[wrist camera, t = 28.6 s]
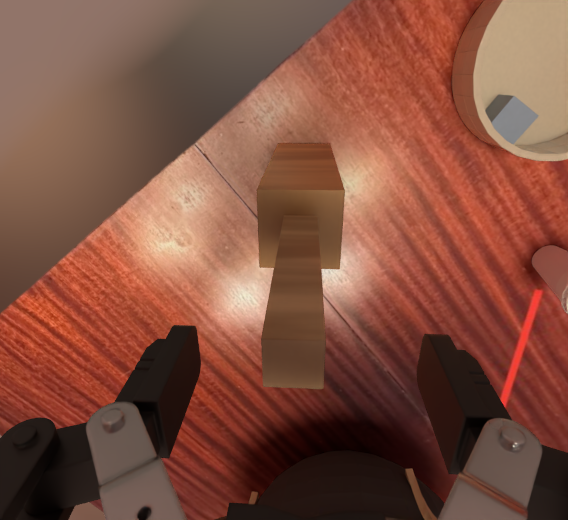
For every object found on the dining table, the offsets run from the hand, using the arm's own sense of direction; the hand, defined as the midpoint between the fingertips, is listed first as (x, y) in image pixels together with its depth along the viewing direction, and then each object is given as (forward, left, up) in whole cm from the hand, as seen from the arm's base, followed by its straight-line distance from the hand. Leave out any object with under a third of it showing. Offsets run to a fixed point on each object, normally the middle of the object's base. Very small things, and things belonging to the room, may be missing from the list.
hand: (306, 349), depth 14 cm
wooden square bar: (+1, -1, -15) cm, 15 cm away
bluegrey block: (-5, +20, -34) cm, 40 cm away
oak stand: (+1, -1, -35) cm, 35 cm away
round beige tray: (-10, +23, -35) cm, 43 cm away
